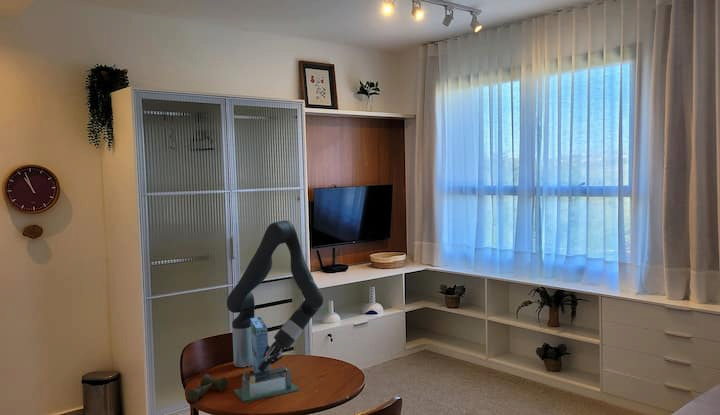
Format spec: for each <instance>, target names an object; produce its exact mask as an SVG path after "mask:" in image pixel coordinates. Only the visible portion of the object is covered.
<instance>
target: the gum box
mask: <svg viewBox="0 0 720 415" xmlns="http://www.w3.org/2000/svg"><path fill="white" fill-rule="evenodd" d="M250 323H251V339H252V357H253V365H252V371H253V373H257V372H261V371H260V370H259V369H258V367H259V365H260V364H261V363H262V362H263V359H264V358H263V355H264V352H265V350H266V347H267V346H268V345H269V336H268V326H267V325H266V323H265V322H264V321H263V319H262V317H261V316H260V317H254V318H250ZM266 370H271V368H270V365H268V366H267V367H266V369H265V370H264V371H266Z"/></svg>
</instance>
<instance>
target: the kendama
mask: <svg viewBox="0 0 720 415" xmlns="http://www.w3.org/2000/svg"><path fill="white" fill-rule="evenodd" d="M210 388H214V389H217V390H218V391H219V392H221V393H223V392H224V391H225V390H226V389H227V388H228V378H227V377H226V376H222V377H219V378H214V377H212V376H211V375H210V374H209V373H205V374H204V375H203V376H202V377H201V379H200V385H197V386H195V388H194V389H193V388H190V389H188V390H187V392H186V397H187V400H188V401H189V402H191V403H196V402H198V400H199V398H202V397H204V396H205V393H206V392H208V390H209V389H210Z"/></svg>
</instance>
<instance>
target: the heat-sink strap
mask: <svg viewBox="0 0 720 415" xmlns="http://www.w3.org/2000/svg"><path fill="white" fill-rule="evenodd" d="M287 370H288V368H286V367H285V366H284V367H281V368H279V367H277V368H273V369H272V368H270V370H266V371H263V372H257V373H254V372H253V373H250V374H247V375H246V377H247V378H248V379H249V376H251V375H254V376H255V379H257V378H262V377H266V376H271V375H276V374H280V373H285V374H286V371H287Z"/></svg>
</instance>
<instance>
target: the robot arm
mask: <svg viewBox="0 0 720 415" xmlns="http://www.w3.org/2000/svg"><path fill="white" fill-rule="evenodd" d="M283 244H285V245H286V246H287V248H288V251H289V255H290V272H291V275H292V277H293V279H294V281H295V283H296V285H297V287H298V289H299V290H300V291H301V294H302V296H303V298H304V300H303V302H301V304H300V305H299V307H298V308H297V309H296V310H295V311H294V312H293V313H292V314H291V316H290V317H289V318H288V320H286V321H285V323H284V324H283V325H282V326H281V327H280V329H279V330H278V331H277V332H276V334H275V335H274V336H273V338H274V340H275V341H274V342H273V343H271V345H269V344H268V346H267V347H266V350H265V352H264V355H263V358H264V359H263V362H262V363H261V364H260V365H259V367H258V369H259V370H260V371H261V372H263V371H264V370H265V369H266V367H267V366H268V365H269V366H270V365H273V364H276V363H277V362H278V361H279V360H281V359H282V358H283V357H284V356H283V355H282V353H284V351H285V349H286V350H289V349H290V348H291V347H292V346H293V344H294V343H295V342H296V340H297V339H298V338H299V336H300V335H301V333H302V332H303V331H304V329H305V328H306V326H307V325H308V324H309V322H310V320H311V319H312V318H313V316H315V315H316V313H317V312H318V311H319V310H320V308H321V307H322V306H323V304H324V297H323V294H322V292H321V290H320V288H319V287H318V286H317V284H316V282H315V280H314V278H313V274H312V273H311V271H310V268H309V267H308V265H307V262H306V259H305V256H304V254H303V250H302V247H301V244H300V240H299V237H298V234H297V231H296V228H295V226H294V224H293V223H292V221H290V220H279V221H275V222H272V223H270V224H269V225H268V226H267V228H266V230H265V232H264V234H263V237H262V240H261V242H260V244H259V246H258V247H257V250H256V251H255V252H254V255H253V257H252V258H251V259H250V262H249V263H248V265H247V267H246V269H245V271H244V272H243V274H242V276H241V277H240V279H239V280H238V282H237V284H236V285H235V286H234V288H233V289H232V290H231V291H230V293H229V295H228V296H227V300H226V307H227V309H228V311H229V312H230V313H234V314H237V313H239V314H238V315H237V317H235V318H234V319H233V320H232V321H231V327H232V330H231V331H232V348H233V349H232V350H233V351H232V352H233V365H234V367H237V368H247V367H246V366H248V367H251V365H252V366H253V357H252V339H251V323H250V318H255V306H256V305H255V297H254V294H253V292H252V291H253V290H254V289H256V288H257V287H258V286H259V285H260V284H262V283H263V282H264V281H265V279H266V278H267V276H268V275H269V274H270V271H271V270H272V267H273V258H272V257H273V254H274V252H275V250H276V249H277V248H278V247H279V245H283Z"/></svg>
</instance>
